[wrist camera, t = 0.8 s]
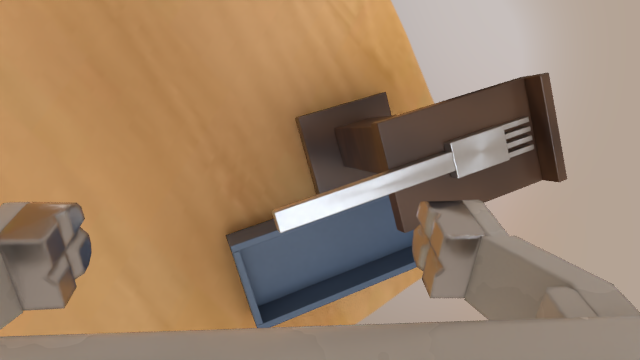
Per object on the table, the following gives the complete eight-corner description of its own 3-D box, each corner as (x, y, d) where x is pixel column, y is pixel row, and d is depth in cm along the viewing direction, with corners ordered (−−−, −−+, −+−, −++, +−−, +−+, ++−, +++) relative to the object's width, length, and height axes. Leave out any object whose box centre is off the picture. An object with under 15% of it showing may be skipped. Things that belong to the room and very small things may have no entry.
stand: (287, 120, 54) (383, 107, 28) (380, 92, 57) (546, 58, 31) (309, 196, 56) (419, 252, 29) (398, 166, 59) (569, 191, 33)
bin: (225, 235, 53) (230, 246, 48) (409, 171, 59) (431, 175, 54) (251, 313, 55) (258, 332, 50) (426, 243, 61) (449, 253, 56)
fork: (280, 239, 28) (282, 242, 27) (268, 201, 28) (271, 203, 27) (528, 149, 33) (538, 149, 32) (522, 116, 33) (531, 115, 32)
